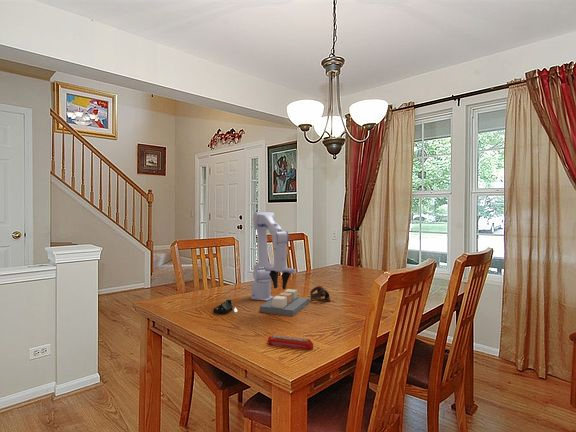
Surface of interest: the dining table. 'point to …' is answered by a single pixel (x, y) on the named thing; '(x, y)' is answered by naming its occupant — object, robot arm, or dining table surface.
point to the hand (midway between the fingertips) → (279, 288)
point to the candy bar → (290, 342)
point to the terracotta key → (288, 295)
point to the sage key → (294, 293)
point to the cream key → (279, 302)
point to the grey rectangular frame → (288, 310)
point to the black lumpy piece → (224, 307)
